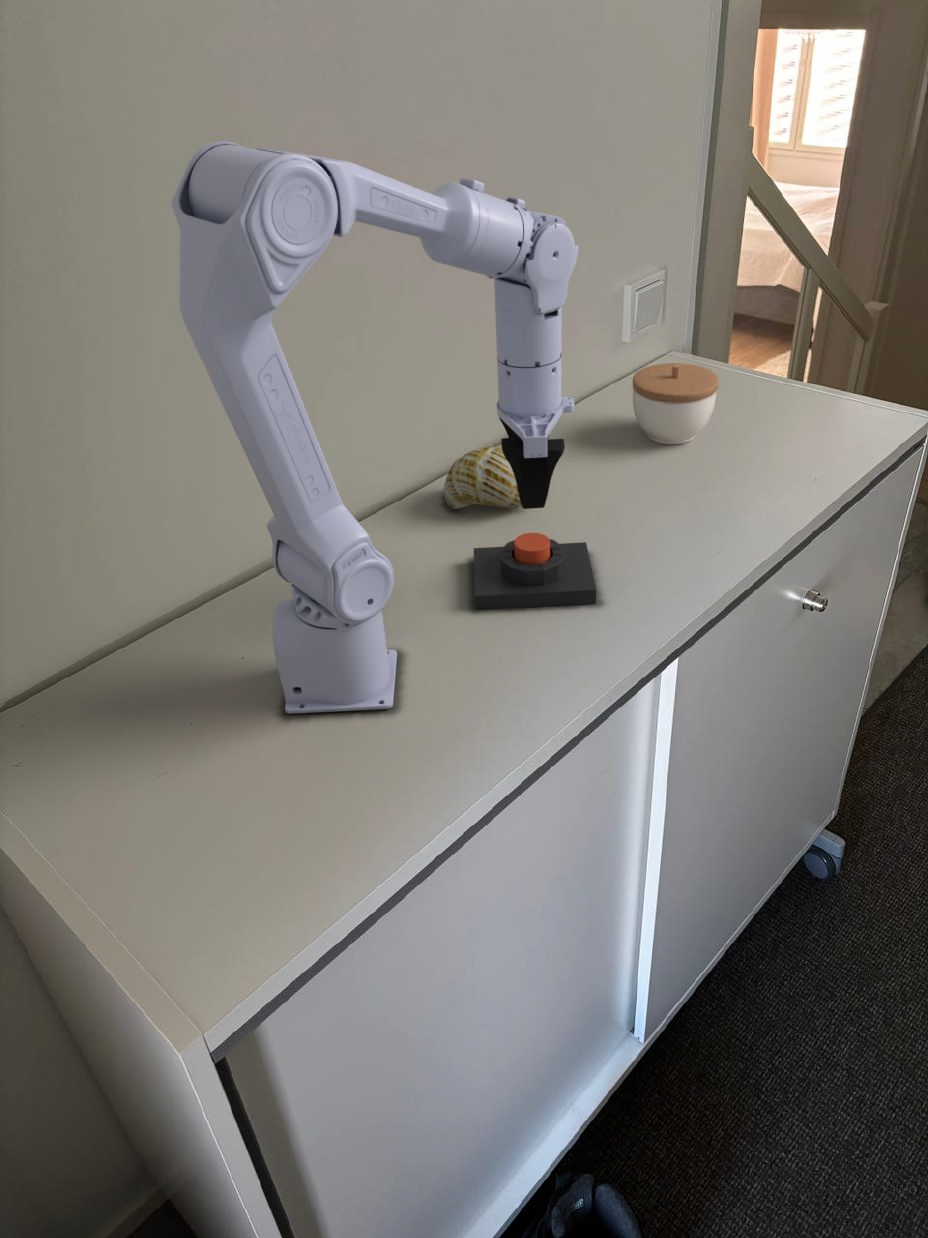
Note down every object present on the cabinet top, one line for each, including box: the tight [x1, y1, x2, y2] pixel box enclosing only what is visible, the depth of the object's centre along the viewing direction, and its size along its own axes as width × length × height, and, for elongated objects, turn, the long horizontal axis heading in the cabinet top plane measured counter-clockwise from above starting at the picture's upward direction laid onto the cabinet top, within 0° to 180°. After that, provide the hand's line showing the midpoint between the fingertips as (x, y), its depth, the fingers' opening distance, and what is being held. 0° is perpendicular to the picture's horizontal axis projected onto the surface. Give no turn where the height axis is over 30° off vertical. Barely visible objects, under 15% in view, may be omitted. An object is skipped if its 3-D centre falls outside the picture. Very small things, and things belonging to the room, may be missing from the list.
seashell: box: [443, 443, 522, 510], centre depth 108 cm, size 10×10×10 cm
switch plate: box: [473, 538, 597, 611], centre depth 94 cm, size 12×9×4 cm
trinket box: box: [632, 362, 720, 445], centre depth 119 cm, size 11×11×9 cm
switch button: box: [514, 532, 550, 565], centre depth 93 cm, size 4×4×2 cm
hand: (531, 492), depth 89 cm, fingers open, 5 cm apart
